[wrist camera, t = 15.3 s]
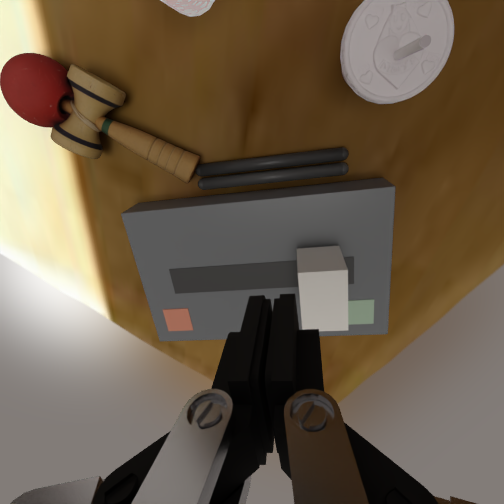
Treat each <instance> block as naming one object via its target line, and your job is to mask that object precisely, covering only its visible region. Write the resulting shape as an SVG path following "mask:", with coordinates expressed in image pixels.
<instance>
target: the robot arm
mask: <svg viewBox="0 0 504 504" xmlns="http://www.w3.org/2000/svg"><path fill="white" fill-rule="evenodd" d="M274 438H275V443H276V448H277V453H279V458H280V463H281V469H282V470H283V471H284V472H285V473H286V474H287V476H288V477H289V478H290V479H291V480H292V486H293V495H294V504H476V503H472V502H469V501H465V500H462V499H458V498H455V497H451V496H450V501H449V500H445V499H442V498H438V497H435V496H433V495H432V494H431V493H430V492H429V491H428V490H427V489H426V488H425V487H424V486H422V485H421V484H420V483H419V482H418V481H416V480H415V479H414V478H413V477H411V476H410V475H409V474H408V473H406V472H405V471H404V470H403V469H402V468H400V467H399V466H398V465H397V464H395V463H394V462H393V461H392V460H390V459H389V458H388V457H387V456H385V455H384V454H383V453H381V452H380V451H379V450H378V449H377V448H375V447H374V446H373V445H372V444H370V443H369V442H368V441H367V440H365V439H364V438H363V437H362V436H360V435H359V434H358V433H357V432H355V431H354V430H353V429H352V428H351V427H349V426H348V425H347V424H345V423H344V421H343V418H342V415H341V412H340V409H339V406H338V404H337V402H336V401H335V400H334V399H333V398H332V397H331V396H330V395H329V394H327V393H325V392H324V385H323V373H322V361H321V350H320V338H319V329H305V330H299V322H298V313H297V305H296V296H295V293H293V294H280V298H275V299H274V305H273V311H272V304H271V299H266V298H265V296H264V295H258V296H249V299H248V303H247V307H246V311H245V315H244V318H243V322H242V326H241V330H240V332H230V333H229V334H228V336H227V340H226V343H225V346H224V349H223V353H222V356H221V359H220V362H219V366H218V369H217V372H216V375H215V379H214V382H213V385H212V388H211V389H208V390H204V391H201V392H200V393H197V394H196V395H194V396H193V397H192V398H191V399H189V400H188V402H187V403H186V405H185V406H184V408H183V409H182V411H181V413H180V415H179V417H178V419H177V421H176V423H175V424H174V426H173V428H172V430H171V431H170V432H169V433H167V434H166V435H164V436H163V437H161V438H160V439H158V440H157V441H156V442H154V443H153V444H151V445H150V446H148V447H147V448H146V449H144V450H143V451H141V452H140V453H139V454H137V455H136V456H134V457H133V458H132V459H130V460H129V461H127V462H126V463H124V464H123V465H122V466H120V467H119V468H117V469H116V470H115V471H113V472H112V473H111V474H110V475H109V476H108V477H107V478H106V479H101V477H100V476H96V477H91V478H86V479H82V480H77V481H72V482H67V483H63V484H57V485H53V486H48V487H43V488H38V489H34V490H31V491H28V492H26V493H24V494H22V495H21V496H19V497H18V498H16V499H15V500H13V502H12V503H10V504H245V503H246V499H247V496H248V492H249V488H250V482H251V475H252V473H254V472H255V471H256V470H257V469H258V468H259V465H265V464H266V456H267V453H272V452H273V445H274Z"/></svg>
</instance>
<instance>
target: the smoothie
mask: <svg viewBox="0 0 504 504" xmlns="http://www.w3.org/2000/svg"><path fill="white" fill-rule="evenodd" d="M453 38H454V19H453V14H452V10H451V7H450V5H449V3H448V1H447V0H364V1H363V2H362V3H361V4H360V6H359V7H358V8H357V9H356V10H355V11H354V13H353V15H352V17H351V18H350V20H349V22H348V24H347V26H346V28H345V31H344V35H343V38H342V41H341V53H340V60H341V66H342V75H343V78H344V80H345V82H346V83H347V84H348V85H349V86H350V87H351V88H352V90H353V91H354V92H355V93H356V94H357V95H358V96H360V97H362V98H363V99H365V100H366V101H370V102H373V103H377V104H393V103H396V102H399V101H403V100H406V99H409V98H411V97H413V96H415V95H417V94H418V93H420V92H421V91H423V90H424V89H425V88H426V87H427V86H429V85H430V84H431V83H432V82H433V80H434V79H435V78H436V77H437V76H438V74H439V73H440V72H441V70H442V68H443V67H444V65H445V63H446V61H447V59H448V57H449V54H450V51H451V48H452V44H453Z"/></svg>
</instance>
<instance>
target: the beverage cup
mask: <svg viewBox="0 0 504 504" xmlns="http://www.w3.org/2000/svg"><path fill="white" fill-rule="evenodd" d="M160 1H162V2H164V3H165V4H167V5H168V6H170V7H172V8H173V9H175V10H176V11H178V12H180V13H182V14H184V15H187V16H190V17H192V16H200V15H202V14H203V13H205V12H206V11H208V10H209V9H210V7H211V6H212V4H213V2H214V1H215V0H160Z"/></svg>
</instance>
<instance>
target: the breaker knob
mask: <svg viewBox="0 0 504 504" xmlns="http://www.w3.org/2000/svg"><path fill="white" fill-rule="evenodd" d="M297 269H298V283H299V295H300V308H301V320H302V330H305V329H319V331H347V330H348V269H347V266H346V263H345V260H344V258H343V255H342V252H341V249H340V247H339V246H326V247H312V248H299V249H297Z"/></svg>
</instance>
